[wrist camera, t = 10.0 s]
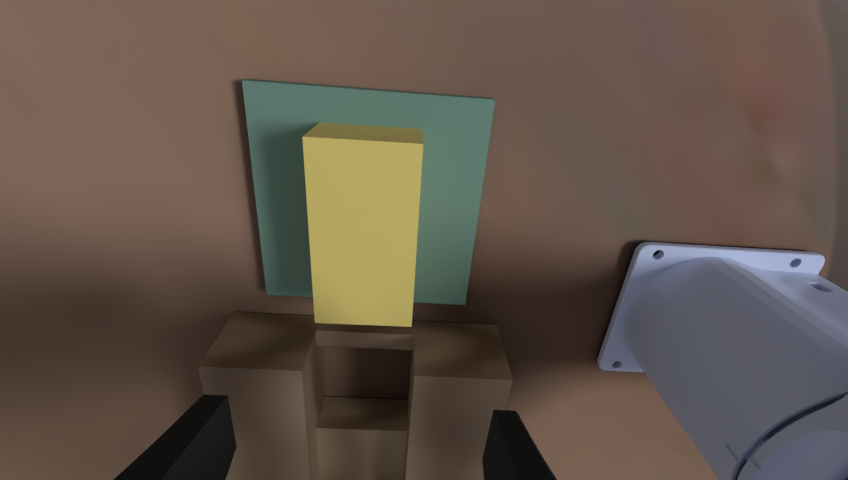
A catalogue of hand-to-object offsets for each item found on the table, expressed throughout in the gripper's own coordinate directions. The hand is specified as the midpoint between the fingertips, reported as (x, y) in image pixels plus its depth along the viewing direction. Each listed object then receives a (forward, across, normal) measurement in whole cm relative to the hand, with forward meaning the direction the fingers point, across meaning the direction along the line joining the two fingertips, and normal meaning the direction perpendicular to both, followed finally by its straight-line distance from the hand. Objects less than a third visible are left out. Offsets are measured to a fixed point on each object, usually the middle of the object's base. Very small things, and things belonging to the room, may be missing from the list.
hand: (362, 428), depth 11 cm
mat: (+10, +1, -3) cm, 10 cm away
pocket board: (+10, +1, +10) cm, 14 cm away
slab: (+9, +1, -2) cm, 10 cm away
